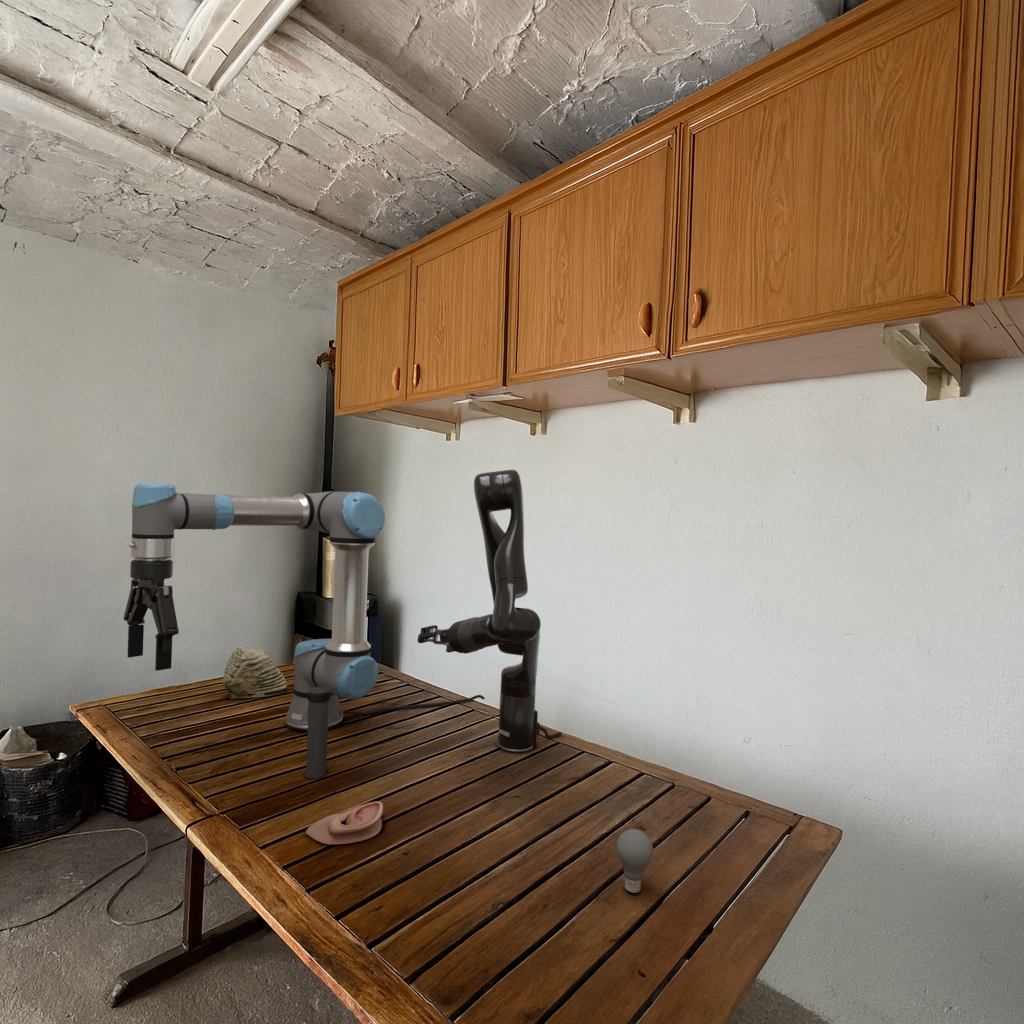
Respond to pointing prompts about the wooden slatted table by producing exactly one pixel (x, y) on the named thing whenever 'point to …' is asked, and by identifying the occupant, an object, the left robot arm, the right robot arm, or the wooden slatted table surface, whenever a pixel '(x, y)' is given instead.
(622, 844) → the light bulb
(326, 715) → the bottle
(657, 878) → the wooden slatted table surface
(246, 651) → the fossil
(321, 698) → the lid
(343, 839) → the anatomical model
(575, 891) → the wooden slatted table surface
